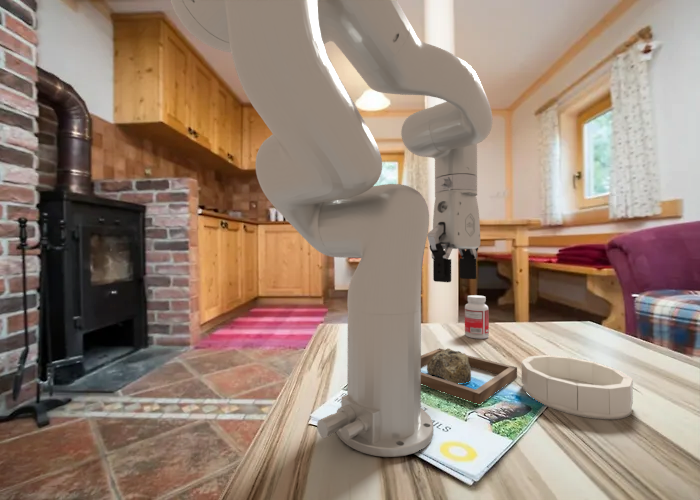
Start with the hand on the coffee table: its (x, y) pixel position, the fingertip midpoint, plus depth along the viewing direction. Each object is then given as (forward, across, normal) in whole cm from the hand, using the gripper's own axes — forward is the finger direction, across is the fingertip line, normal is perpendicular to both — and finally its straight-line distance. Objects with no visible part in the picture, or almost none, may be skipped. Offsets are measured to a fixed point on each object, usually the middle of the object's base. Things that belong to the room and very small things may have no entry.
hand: (455, 280), depth 59 cm
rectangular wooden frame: (+18, 0, 0) cm, 18 cm away
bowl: (+18, +6, -17) cm, 25 cm away
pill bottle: (+18, +31, +10) cm, 37 cm away
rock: (+18, 0, +1) cm, 18 cm away
